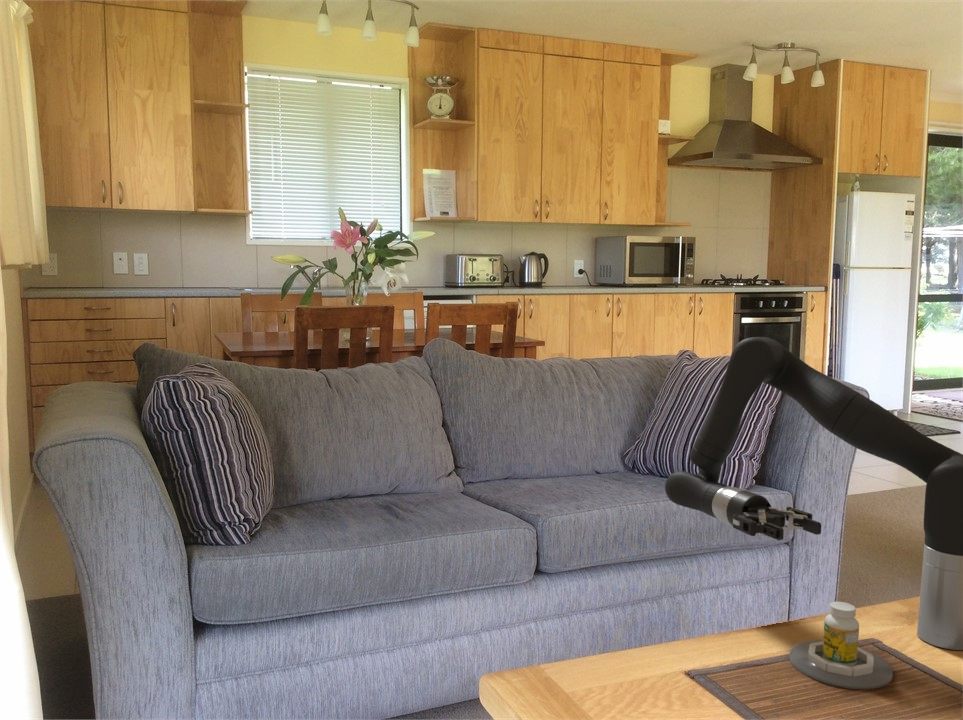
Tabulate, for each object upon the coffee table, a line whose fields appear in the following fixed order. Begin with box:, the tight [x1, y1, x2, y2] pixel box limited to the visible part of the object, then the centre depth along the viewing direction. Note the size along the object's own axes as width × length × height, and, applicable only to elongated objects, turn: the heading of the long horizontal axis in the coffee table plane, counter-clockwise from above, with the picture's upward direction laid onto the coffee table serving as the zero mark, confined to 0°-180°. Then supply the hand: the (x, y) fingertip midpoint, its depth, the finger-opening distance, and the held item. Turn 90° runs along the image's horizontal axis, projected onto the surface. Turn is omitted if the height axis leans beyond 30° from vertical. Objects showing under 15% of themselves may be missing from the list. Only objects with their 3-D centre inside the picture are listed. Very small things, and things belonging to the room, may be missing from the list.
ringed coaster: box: [789, 639, 894, 690], centre depth 142 cm, size 16×16×2 cm
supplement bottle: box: [822, 601, 860, 666], centre depth 142 cm, size 5×5×10 cm
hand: (801, 531), depth 150 cm, fingers open, 8 cm apart
